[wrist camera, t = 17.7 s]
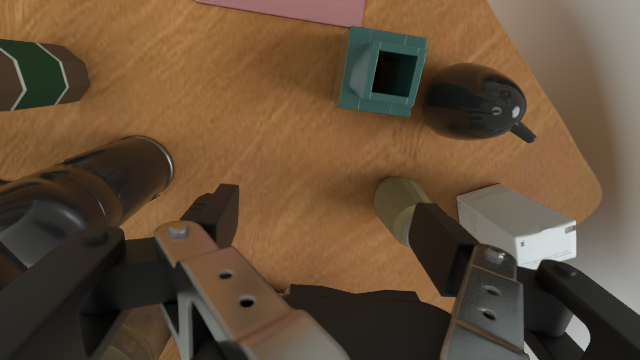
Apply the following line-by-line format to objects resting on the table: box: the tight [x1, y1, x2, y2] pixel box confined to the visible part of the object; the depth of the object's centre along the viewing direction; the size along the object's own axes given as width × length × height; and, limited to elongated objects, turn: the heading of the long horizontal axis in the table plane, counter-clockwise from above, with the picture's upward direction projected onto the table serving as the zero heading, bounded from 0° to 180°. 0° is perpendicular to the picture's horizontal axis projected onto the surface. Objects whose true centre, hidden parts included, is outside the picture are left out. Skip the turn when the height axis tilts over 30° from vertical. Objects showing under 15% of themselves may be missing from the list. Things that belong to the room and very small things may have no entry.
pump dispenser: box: [422, 63, 536, 143], centre depth 38 cm, size 10×10×15 cm
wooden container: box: [101, 304, 172, 360], centre depth 43 cm, size 15×15×22 cm
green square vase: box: [331, 26, 428, 117], centre depth 37 cm, size 9×9×14 cm
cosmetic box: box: [457, 184, 576, 269], centre depth 45 cm, size 8×6×15 cm
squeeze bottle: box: [373, 177, 431, 248], centre depth 42 cm, size 8×8×18 cm
